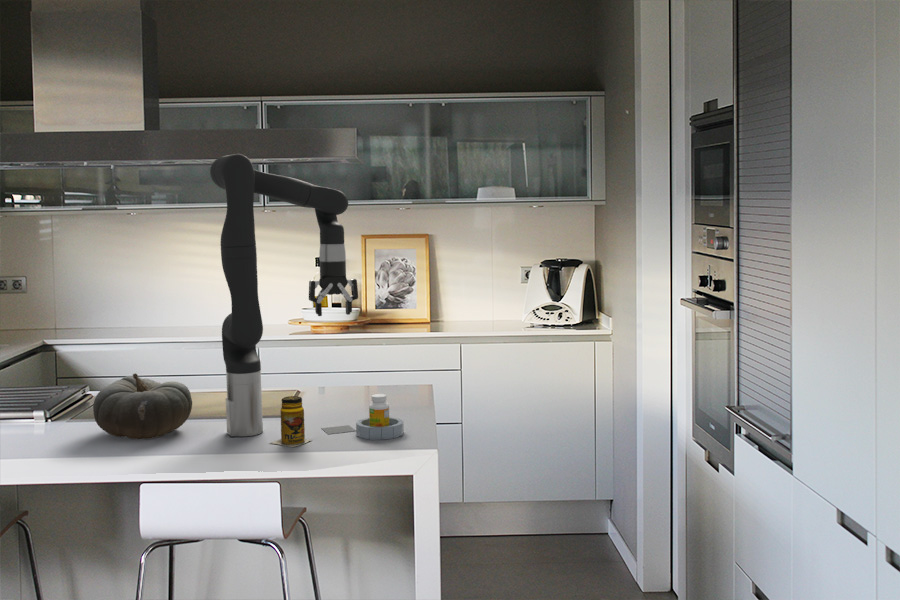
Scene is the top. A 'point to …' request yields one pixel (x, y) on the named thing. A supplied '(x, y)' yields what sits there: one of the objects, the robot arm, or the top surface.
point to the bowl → (380, 429)
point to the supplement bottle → (379, 411)
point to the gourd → (142, 407)
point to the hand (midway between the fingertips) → (334, 315)
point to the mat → (338, 429)
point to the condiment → (292, 422)
